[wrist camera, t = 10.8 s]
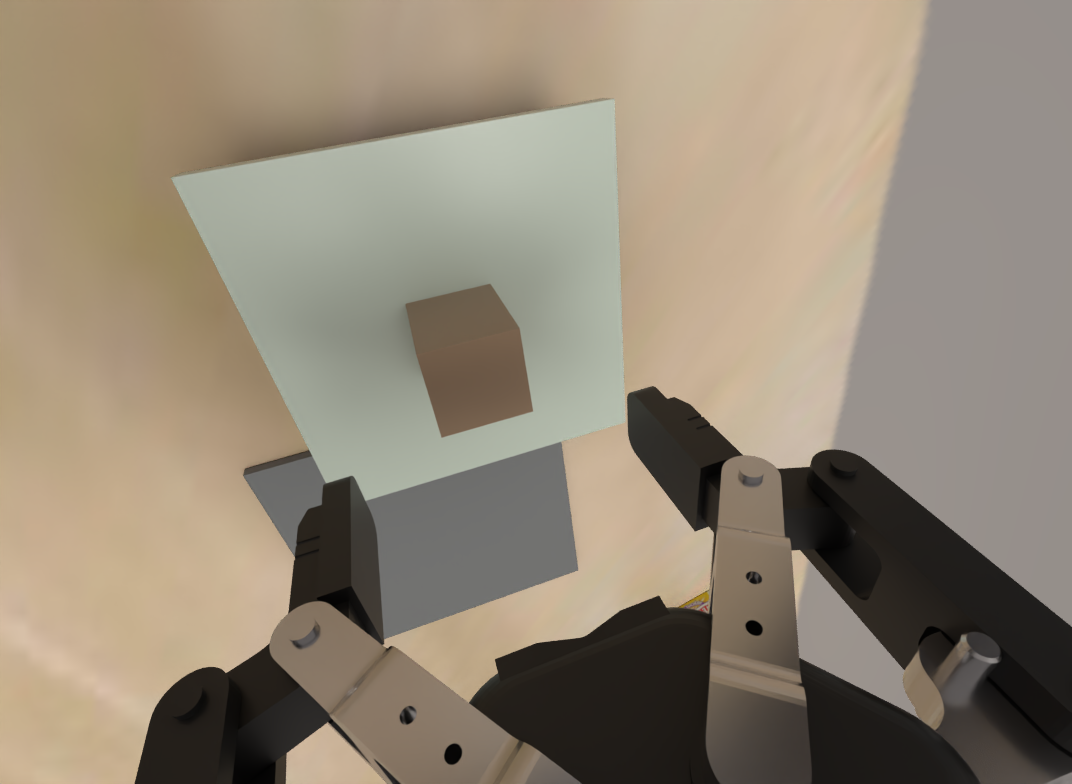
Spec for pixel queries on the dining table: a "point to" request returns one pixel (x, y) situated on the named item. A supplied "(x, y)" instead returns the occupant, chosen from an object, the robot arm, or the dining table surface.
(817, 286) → the dining table surface
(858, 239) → the dining table surface
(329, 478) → the lid
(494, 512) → the mat
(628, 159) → the dining table surface
